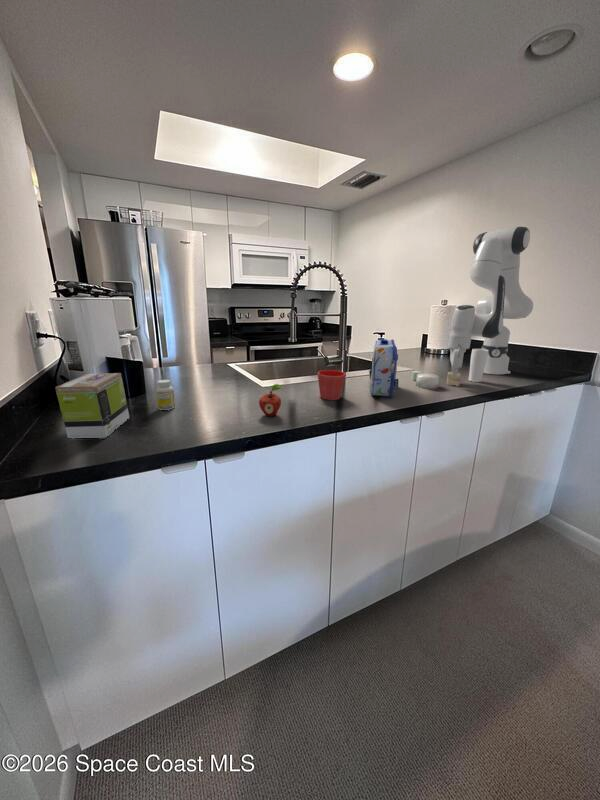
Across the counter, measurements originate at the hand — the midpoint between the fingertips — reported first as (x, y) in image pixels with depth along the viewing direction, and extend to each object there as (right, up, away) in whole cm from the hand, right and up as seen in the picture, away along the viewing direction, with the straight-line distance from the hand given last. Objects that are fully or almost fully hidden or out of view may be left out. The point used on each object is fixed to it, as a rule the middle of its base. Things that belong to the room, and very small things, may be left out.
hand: (453, 374), depth 143 cm
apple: (-79, -17, -40) cm, 90 cm away
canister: (-13, -5, -2) cm, 14 cm away
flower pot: (-57, -11, -20) cm, 62 cm away
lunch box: (-35, -8, -11) cm, 38 cm away
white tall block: (+14, -3, +8) cm, 16 cm away
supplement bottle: (-115, -15, -35) cm, 121 cm away
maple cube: (0, -4, +2) cm, 5 cm away
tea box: (-126, -20, -52) cm, 138 cm away
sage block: (-14, -2, +9) cm, 17 cm away
